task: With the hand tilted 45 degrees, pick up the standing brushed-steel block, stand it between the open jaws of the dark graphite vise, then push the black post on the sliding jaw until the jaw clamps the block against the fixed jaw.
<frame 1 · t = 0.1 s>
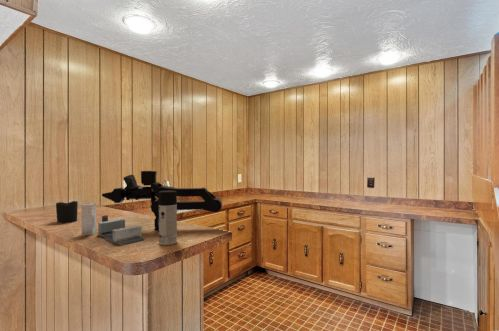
hand: (107, 193, 122), 17 cm above the countertop, tool horizontal, fingers open, 9 cm apart
steel block: (89, 233, 116), on the countertop
vise base: (120, 237, 110), on the countertop
pen holder: (67, 221, 140), on the countertop
spray can: (168, 243, 102), on the countertop
sliding jaw: (108, 222, 119), point 4 cm above the countertop, slide at 0.0 cm
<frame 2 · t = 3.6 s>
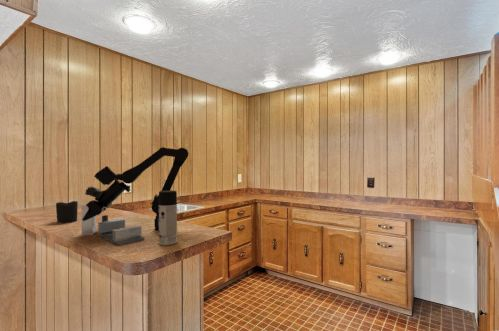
hand: (85, 218, 115), 7 cm above the countertop, tool tilted 45°, fingers closed on steel block, 5 cm apart
steel block: (89, 233, 116), on the countertop, touching gripper
everything else where it was.
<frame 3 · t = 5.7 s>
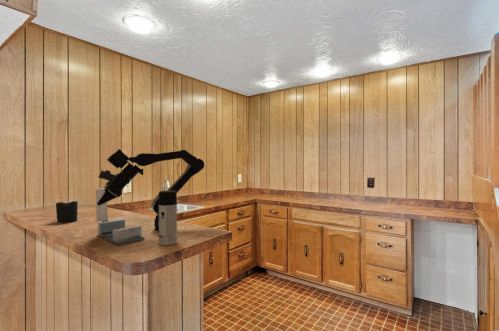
hand: (97, 203, 111), 14 cm above the countertop, tool tilted 45°, fingers closed on steel block, 5 cm apart
steel block: (102, 219, 112), point 7 cm above the countertop, touching gripper
everything else where it was.
when the fingers open (8 cm above the countertop, at t = 8.0 s): steel block stays where it is, resting on vise base.
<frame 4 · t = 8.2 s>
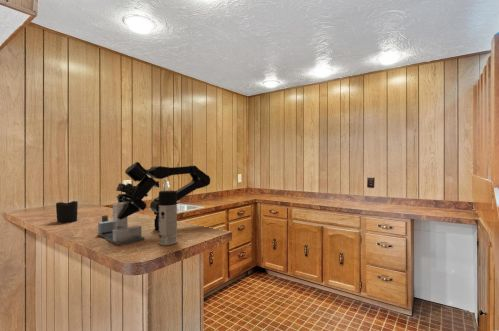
hand: (116, 217, 109), 8 cm above the countertop, tool tilted 45°, fingers open, 7 cm apart
steel block: (120, 234, 110), point 1 cm above the countertop, touching vise base
everything else where it was.
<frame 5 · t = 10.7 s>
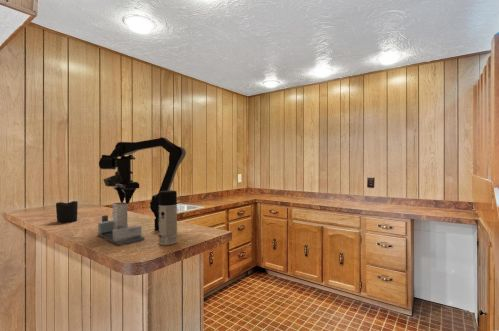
hand: (124, 202, 124), 12 cm above the countertop, tool pointing down, fingers open, 6 cm apart
nothing on the countertop moved.
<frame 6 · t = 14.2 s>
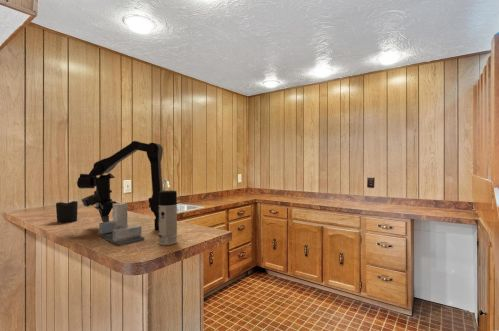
hand: (103, 221, 123), 3 cm above the countertop, tool pointing down, fingers closed
sliding jaw: (109, 223, 118), point 4 cm above the countertop, slide at 1.4 cm, touching gripper
everything else where it was.
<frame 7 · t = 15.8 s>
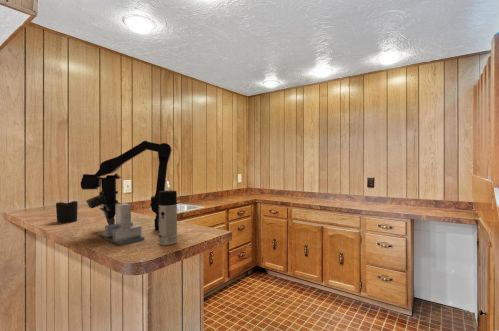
hand: (109, 224, 119), 4 cm above the countertop, tool pointing down, fingers closed
steel block: (123, 236, 108), point 1 cm above the countertop, touching sliding jaw, vise base
sliding jaw: (115, 225, 114), point 4 cm above the countertop, slide at 8.0 cm, touching gripper, steel block
everything else where it was.
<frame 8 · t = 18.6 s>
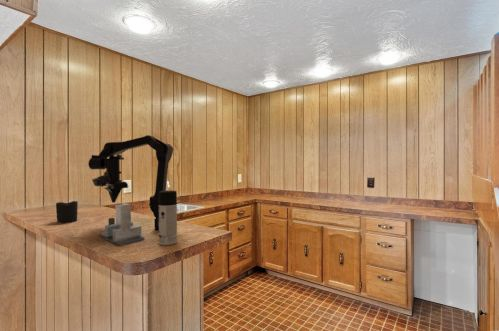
hand: (113, 202, 126), 12 cm above the countertop, tool pointing down, fingers closed
steel block: (123, 236, 108), point 1 cm above the countertop, touching vise base
sliding jaw: (115, 225, 114), point 4 cm above the countertop, slide at 8.0 cm
everything else where it was.
at the end: steel block 0.4 cm from the target spot on the vise base, point 1.0 cm above the vise base's base; steel block tilted 0°; sliding jaw slide at 8.0 cm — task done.
